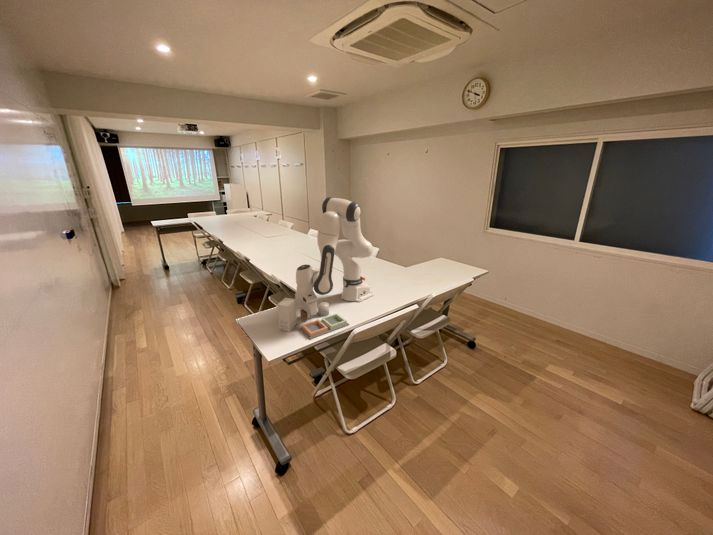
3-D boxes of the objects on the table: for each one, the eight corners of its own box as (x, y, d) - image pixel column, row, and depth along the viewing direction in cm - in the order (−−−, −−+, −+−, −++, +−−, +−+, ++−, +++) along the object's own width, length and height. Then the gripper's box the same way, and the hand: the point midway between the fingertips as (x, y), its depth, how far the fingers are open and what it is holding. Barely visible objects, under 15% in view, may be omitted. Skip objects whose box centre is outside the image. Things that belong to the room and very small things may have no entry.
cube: (307, 315, 159) (307, 307, 158) (311, 318, 156) (311, 311, 154) (300, 317, 157) (300, 310, 155) (304, 321, 153) (303, 313, 152)
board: (337, 316, 159) (337, 312, 159) (349, 325, 150) (349, 320, 150) (299, 328, 146) (299, 324, 145) (310, 339, 137) (309, 335, 136)
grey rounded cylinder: (325, 310, 166) (325, 301, 164) (331, 314, 161) (331, 305, 159) (316, 313, 162) (316, 303, 160) (321, 317, 158) (321, 308, 156)
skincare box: (287, 322, 152) (285, 296, 147) (297, 324, 150) (296, 298, 145) (278, 330, 144) (276, 303, 139) (290, 332, 143) (288, 305, 137)
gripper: (291, 288, 157) (293, 309, 162) (308, 301, 142) (309, 325, 146) (301, 286, 161) (302, 307, 165) (319, 298, 145) (319, 321, 150)
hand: (306, 315), depth 156 cm, fingers closed on cube, 4 cm apart
